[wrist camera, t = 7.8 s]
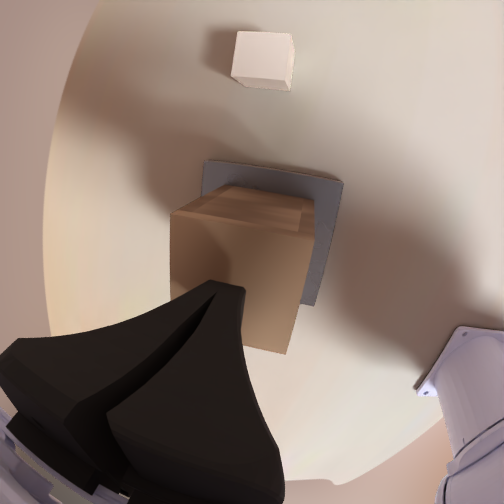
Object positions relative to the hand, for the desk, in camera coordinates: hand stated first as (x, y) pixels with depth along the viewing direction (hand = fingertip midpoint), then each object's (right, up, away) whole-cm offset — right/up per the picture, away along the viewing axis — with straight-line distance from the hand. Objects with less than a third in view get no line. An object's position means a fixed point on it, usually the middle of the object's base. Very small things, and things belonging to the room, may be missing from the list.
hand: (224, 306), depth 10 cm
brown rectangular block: (+2, +3, +7) cm, 8 cm away
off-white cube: (+2, +12, +4) cm, 13 cm away
